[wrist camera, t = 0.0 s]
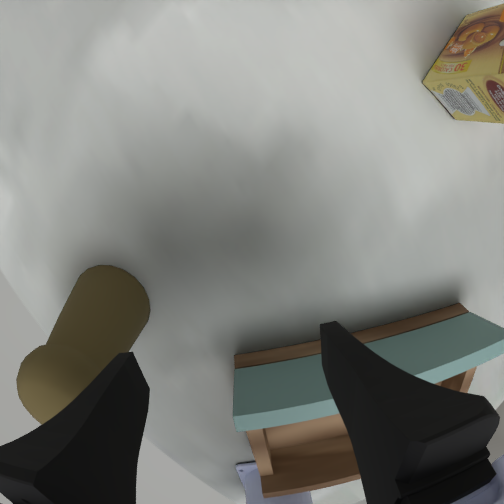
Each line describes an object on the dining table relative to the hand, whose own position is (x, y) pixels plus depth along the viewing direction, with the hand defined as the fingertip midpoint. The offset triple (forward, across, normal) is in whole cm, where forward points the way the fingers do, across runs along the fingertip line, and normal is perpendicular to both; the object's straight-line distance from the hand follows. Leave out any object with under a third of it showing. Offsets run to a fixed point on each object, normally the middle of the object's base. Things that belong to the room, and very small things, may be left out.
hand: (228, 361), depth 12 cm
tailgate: (+9, -9, +8) cm, 15 cm away
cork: (+10, +9, +2) cm, 14 cm away
